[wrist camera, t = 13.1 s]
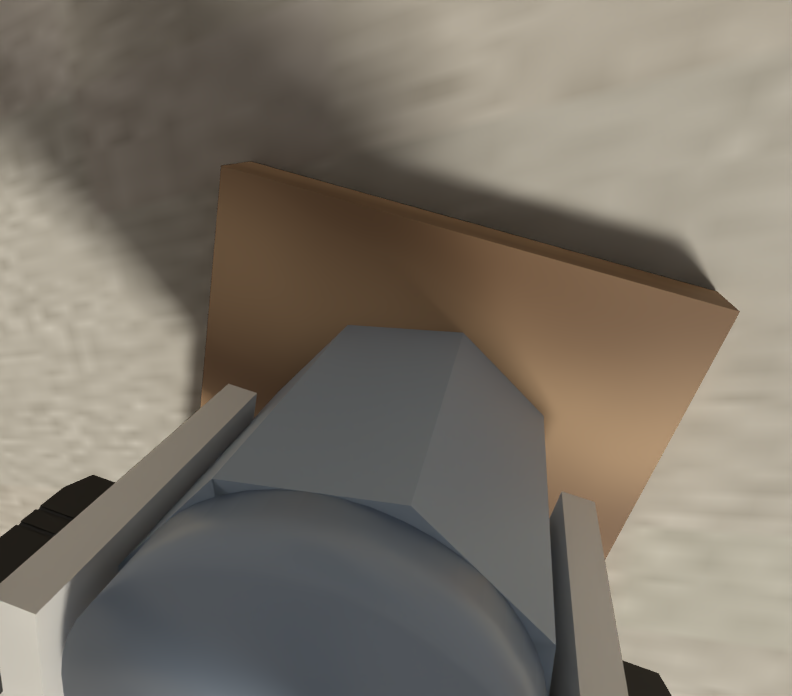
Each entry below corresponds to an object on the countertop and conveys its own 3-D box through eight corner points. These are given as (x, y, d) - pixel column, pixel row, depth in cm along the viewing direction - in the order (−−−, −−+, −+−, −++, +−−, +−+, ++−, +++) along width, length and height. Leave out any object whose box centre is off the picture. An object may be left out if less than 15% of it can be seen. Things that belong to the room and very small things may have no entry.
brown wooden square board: (250, 161, 14) (83, 185, 9) (717, 291, 13) (851, 412, 7) (213, 508, 19) (92, 656, 14) (544, 626, 18) (552, 841, 13)
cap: (237, 430, 16) (-10, 694, 8) (404, 271, 13) (242, 465, 6) (405, 587, 17) (312, 947, 9) (597, 471, 14) (676, 866, 6)
